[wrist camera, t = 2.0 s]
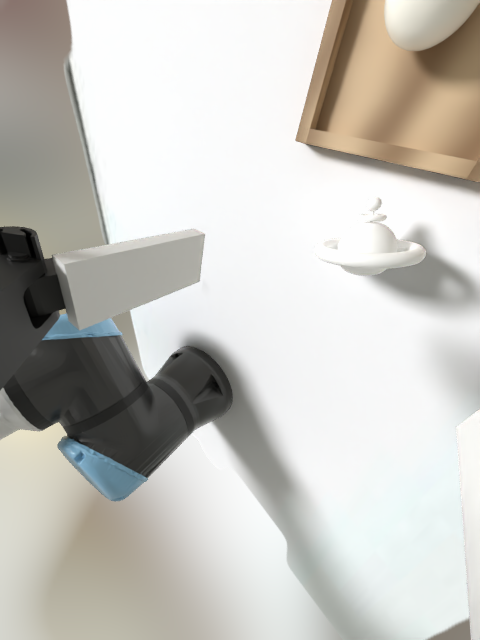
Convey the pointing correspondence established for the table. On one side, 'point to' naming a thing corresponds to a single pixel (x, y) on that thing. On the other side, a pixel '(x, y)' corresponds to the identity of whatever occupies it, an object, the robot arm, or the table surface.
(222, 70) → the table surface
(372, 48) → the divided wooden tray
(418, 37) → the ceramic egg
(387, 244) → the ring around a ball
